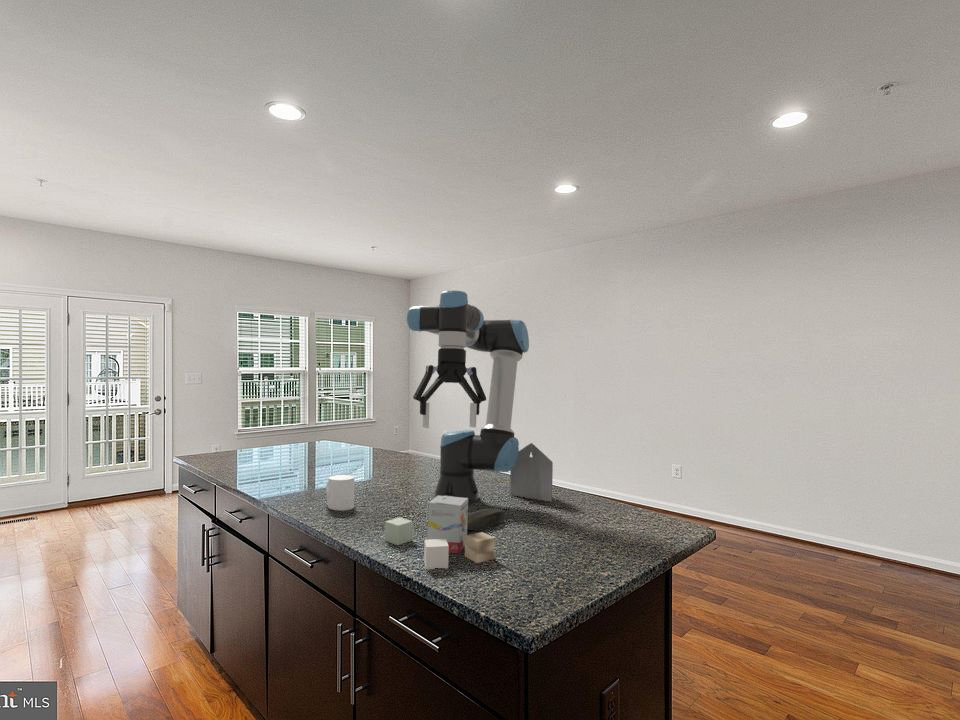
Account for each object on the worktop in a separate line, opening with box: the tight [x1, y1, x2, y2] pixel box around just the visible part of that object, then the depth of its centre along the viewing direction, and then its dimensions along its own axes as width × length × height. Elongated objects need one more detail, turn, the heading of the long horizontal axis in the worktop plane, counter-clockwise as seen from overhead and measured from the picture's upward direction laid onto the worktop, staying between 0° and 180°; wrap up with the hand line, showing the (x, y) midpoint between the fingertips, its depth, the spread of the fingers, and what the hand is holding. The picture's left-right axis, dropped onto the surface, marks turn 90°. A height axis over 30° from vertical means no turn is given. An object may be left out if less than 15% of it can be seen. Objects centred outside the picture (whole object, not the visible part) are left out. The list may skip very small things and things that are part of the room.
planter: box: [509, 442, 554, 503], centre depth 180 cm, size 16×8×19 cm, turn 58°
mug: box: [325, 474, 356, 511], centre depth 163 cm, size 12×9×8 cm
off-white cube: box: [423, 539, 450, 570], centre depth 115 cm, size 5×5×5 cm
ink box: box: [426, 495, 469, 554], centre depth 127 cm, size 9×9×12 cm
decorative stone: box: [467, 507, 505, 532], centre depth 145 cm, size 17×6×4 cm, turn 134°
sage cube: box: [384, 516, 414, 546], centre depth 131 cm, size 5×5×5 cm
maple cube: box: [464, 532, 495, 564], centre depth 120 cm, size 5×5×5 cm
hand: (449, 427), depth 136 cm, fingers open, 13 cm apart
